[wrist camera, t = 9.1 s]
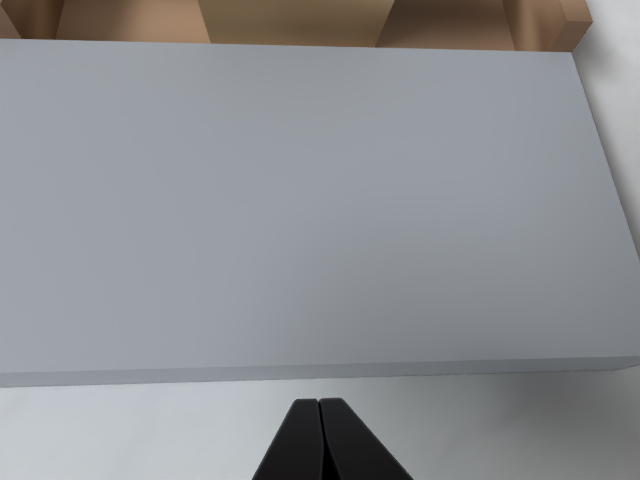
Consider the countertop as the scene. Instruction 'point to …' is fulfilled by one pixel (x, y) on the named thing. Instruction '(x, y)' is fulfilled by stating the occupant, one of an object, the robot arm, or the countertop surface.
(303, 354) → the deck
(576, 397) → the countertop surface
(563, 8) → the bin
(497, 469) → the countertop surface
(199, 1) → the block
